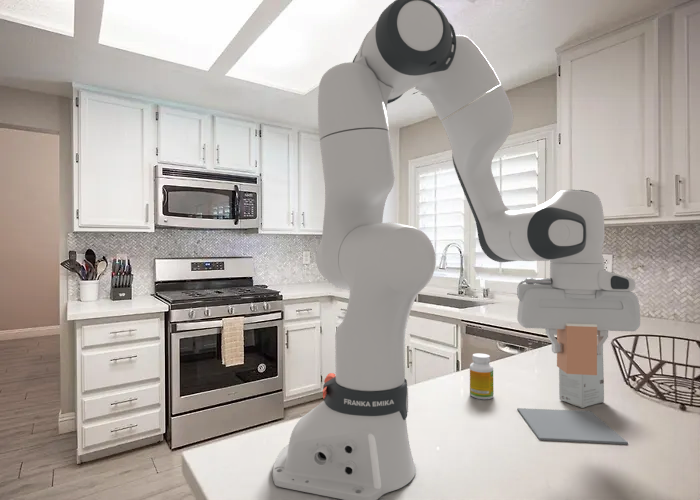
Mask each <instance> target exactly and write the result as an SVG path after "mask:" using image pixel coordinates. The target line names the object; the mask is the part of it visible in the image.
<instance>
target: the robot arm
mask: <svg viewBox="0 0 700 500" xmlns="http://www.w3.org/2000/svg"><path fill="white" fill-rule="evenodd" d="M412 89H415V90H416V91H419V92H420V93H422V94H423V96H425V97H426V98H427V99H428V100H429V102H430V103H431V105H432V107H433V109H434V112H435V114H436V115H437V117H438V119H439V121H440V123H441V125H442V127H443V129H444V131H445V133H446V135H447V138H448V141H449V144H450V148H451V152H452V163H453V167H454V171H455V174H456V176H457V178H458V181H459V184H460V186H461V188H462V191H463V194H464V196H465V198H466V201H467V203H468V206H469V208H470V210H471V213H472V215H473V218H474V221H475V225H476V231H477V236H478V243H479V245H480V248H481V250H482V252H483V253H484V254H485V255H486V256H487V258H489V259H491V260H492V261H494V262H498V263H508V262H510V263H511V262H548V261H549V277H548V278H547V277H545V278H543V277H542V278H533V277H527V278H525V280H524V279H523V280H521V281H520V282H519V283H518V285H517V288H516V289H517V290H516V291H517V292H516V293H517V295H516V296H517V298H518V300H519V301H518V307H517V315H516V316H517V317H516V318H517V322H518V323H519V325H520V326H522V327H523V328H525V329H541V330H542V329H545V335H546V336H547V337H548V339H549V341H550V342H551V352H552V353H553V354H557V353H563V344H561V343H560V342H557V337H555V336H557V329H565V328H566V323H580V324H597V355H601V346H602V345H603V346H604V344H605V342H606V341H607V340H608V338H609V332H631V333H632V332H636V331H637V330H638V329H639V328H640V327H641V308H640V302H639V299H638V296H637V295H636V294H635V293H634V292H633V291H634V290H635V289H636V280H635V279H634V278H631V277H628V276H625V275H621V274H617V273H615V272H613V271H608V270H606V269H605V259H604V255H603V245H604V242H605V235H606V234H605V232H606V231H605V217H604V215H605V214H604V208H603V204H602V201H601V198H600V197H599V195H598V194H596V193H594V192H592V191H589V190H583V189H566V190H565V189H564V190H560V191H558V192H556V193H555V194H554V196H552V198H550V199H549V200H546V201H545V202H544V203H541V204H539V205H535V206H534V207H529V208H525V209H519V210H513V209H510V208H509V207H507V206H506V205H505V203H504V201H503V199H502V195H501V193H500V190H499V188H498V186H497V185H498V184H497V182H496V181H495V177H494V174H493V171H492V163H493V161H494V160H493V159H494V158H495V155H496V153H497V152H498V151H499V150H500V149H501V148H502V146H503V145H504V144H505V142H506V140H507V139H508V138H509V136H510V134H511V131H512V128H513V124H514V111H513V107H512V103H511V102H510V99H509V97H508V95H507V92H506V90H505V89H504V87H503V85H502V83H501V81H500V80H499V77H498V75H497V73H496V71H495V70H494V68H493V67H492V65H491V64H490V62H489V60H487V58H486V56H485V55H484V54H483V52H482V51H481V50H480V48H479V47H478V45H476V44H475V42H474V41H473V40H472V39H471V38H469V37H468V36H466V35H462V34H461V35H460V34H459V35H458V34H456V32H455V28H454V26H453V25H452V24H451V23H450V22H449V20H448V18H447V16H446V14H445V13H444V12H443V10H442V9H441V8H440V7H439V6H438V5H437V4H436V3H435V2H434V1H432V0H394V1H393V2H391V3H390V4H389V5H388V6H386V8H385V9H383V11H382V12H381V13H380V15H379V17H378V19H377V20H376V22H375V24H374V25H373V26H372V27H371V29H369V31H368V32H367V33H366V34H365V36H364V38H363V40H362V43H361V44H360V47H359V49H358V52H357V53H356V54H355V56H354V58H353V60H352V62H344V63H340V64H339V63H338V64H337V65H334V66H332V67H331V68H329V69H328V70H327V71H325V73H324V74H323V75H322V76H321V78H320V81H319V84H318V94H317V95H318V96H317V97H318V98H317V124H318V126H317V127H318V135H319V136H318V137H319V146H320V147H319V148H320V154H321V163H322V164H321V165H322V170H323V180H324V212H323V213H324V214H323V225H322V235H321V240H320V243H319V244H318V247H317V249H316V254H315V263H316V266H317V269H318V271H319V274H321V276H322V277H323V279H325V280H326V281H328V282H329V283H331V284H332V285H334V286H335V287H337V288H339V289H342V290H347V291H349V297H348V303H347V307H346V310H345V315H344V318H343V320H342V322H341V323H340V324H339V325H338V327H337V328H336V330H335V335H334V339H335V347H334V348H335V351H334V352H335V353H334V354H335V355H334V356H335V357H334V358H335V359H334V361H335V362H334V363H335V373H333V372H330V373H328V374H327V375H326V377H325V378H324V382H323V385H322V398H323V399H322V400H323V401H322V402H320V403H319V404H318V405H317V406H315V407H313V408H312V409H311V410H310V411H309V412H307V413H306V414H304V415H303V416H301V418H299V420H298V421H297V422H296V424H295V426H294V427H293V430H292V432H291V434H290V437H289V442H288V444H287V445H286V446H285V447H283V449H282V450H281V451H280V452H279V454H278V456H277V457H276V458H275V461H274V465H273V467H272V480H273V483H274V485H275V486H276V487H279V488H284V489H288V490H294V491H299V492H305V493H308V494H309V493H310V494H314V495H319V496H323V497H329V498H335V499H340V500H379V499H380V498H381V497H382V496H384V495H385V494H388V493H390V492H393V491H396V490H399V489H401V488H403V487H405V486H406V485H407V484H409V483H410V482H411V481H412V480H413V479H414V477H415V474H416V464H415V461H414V457H413V454H412V450H411V444H410V440H409V433H408V423H407V417H408V413H409V387H408V380H407V379H406V378H405V357H406V356H405V354H406V353H405V352H406V350H405V349H406V348H405V346H406V345H405V342H406V340H405V339H406V332H407V326H408V321H409V319H410V318H409V317H410V314H411V310H412V308H413V305H414V303H415V300H416V298H417V297H418V295H419V293H421V291H423V290H424V289H425V288H426V286H427V285H428V284H429V283H430V281H431V279H433V276H434V272H435V269H436V260H437V259H436V253H435V252H436V251H435V248H434V245H433V243H432V241H431V239H430V238H429V237H428V235H427V234H426V233H425V232H423V231H422V229H419V228H417V227H414V226H410V225H407V224H403V223H402V224H401V223H397V222H393V221H392V222H389V221H388V222H383V220H384V219H383V218H384V210H385V205H386V202H387V199H388V195H389V194H390V192H392V189H393V188H394V183H395V170H394V162H393V160H394V159H393V152H392V145H391V143H392V142H391V136H390V128H389V120H388V115H387V113H388V112H387V111H388V105H389V104H392V103H393V102H395V101H397V100H398V99H400V98H401V97H402V96H403V95H404V94H406V93H407V92H408V91H409V90H412Z"/></svg>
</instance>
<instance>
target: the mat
mask: <svg viewBox="0 0 700 500" xmlns="http://www.w3.org/2000/svg"><path fill="white" fill-rule="evenodd" d="M516 410H517V411H518V413H519V414H520V415H521V417H522V419H523V420H524V421H525V422H526V424H527V425H528V427H529V428H530V429H531V430H532V432H533V433H534V434H535V436H536V438H537V439H538V440H539V441H553V442H568V443H569V442H570V443H571V442H573V443H575V442H576V443H590V444H591V443H594V444H611V445H613V444H614V445H628V444H629V442H628V441H627V440H626V439H624V437H623V436H621V435H620V434H619V433H617V432H616V431H615V430H614V429H613V428H612V427H610V426H609V425H608V424H607V423H606V422H604V421H603V420H602V419H601V418H600V417H599V416H597V415H596V414H595V413H594V412H593V411H591V410H575V409H574V410H573V409H572V410H571V409H570V410H568V409H551V408H550V409H547V408H522V407H521V408H520V407H518V408H517V409H516Z"/></svg>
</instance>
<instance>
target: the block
mask: <svg viewBox="0 0 700 500" xmlns="http://www.w3.org/2000/svg"><path fill="white" fill-rule="evenodd" d="M597 336H598V335H597V324H580V323H566V328H565V329H557V335H556V340H557V342H560V343H561V344H563V353H556V367H558V369H559V368H560V369H561V370H563V371H564V372H565V373H567V374H581V375H597Z"/></svg>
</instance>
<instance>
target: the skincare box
mask: <svg viewBox="0 0 700 500" xmlns="http://www.w3.org/2000/svg"><path fill="white" fill-rule="evenodd" d="M604 375H605V373H604V344H603V345H602V346H601V355H597V375H581V374H567V373H565V372H564V371H563V370H561V369H560V368H559V367H558V376H559V377H558V380H559V383H558V385H559V386H558V388H559V393H558V394H559V396H558V397H559V398H558V399H559V400H560V401H562V402H565V403H568V404H571V405H573V406H576V407H578V408H581V409H584V408H587V407H590V406H593V405H598V404H601V403H604V402H605V383H604V382H605V381H604V379H605V378H604V377H605V376H604Z"/></svg>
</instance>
